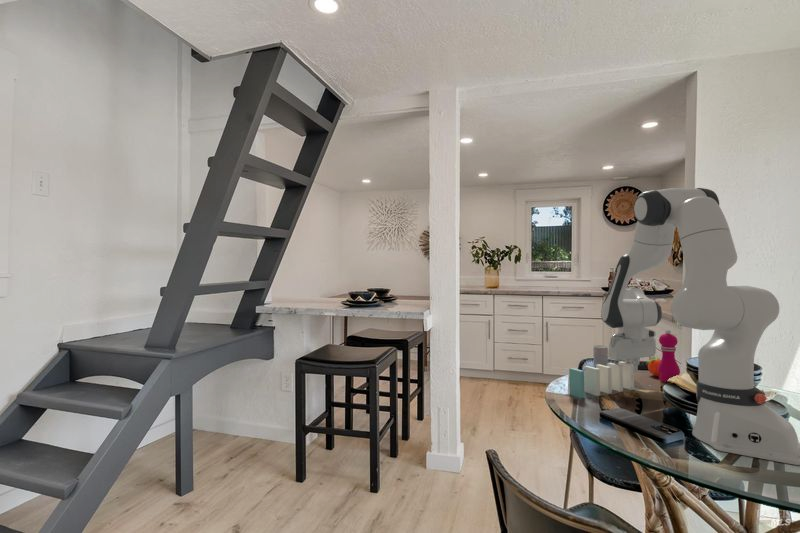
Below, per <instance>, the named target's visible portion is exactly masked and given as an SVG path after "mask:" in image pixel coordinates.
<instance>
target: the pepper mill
mask: <svg viewBox="0 0 800 533" xmlns="http://www.w3.org/2000/svg"><path fill="white" fill-rule="evenodd" d="M658 342H659V344H660V350H661V354H662V355H661V359H660V360H661V362H660V363H659V365H658V372H659V373H660V374H661V376H658V379H659V381H660V382H664V383H667V382H666V381H667V380H668V379H669V378H670V377H673V376H676V375H678V376H680V375H681V374H680V373H681V369H680V366H679V365H678V363H677V361H676V355H675V352H676V351H677V347H676V346H677V345H678V338H677V337H676V335H674V334H672V332H671V330H669V329H666V330H665V333H664V334H660V336H659V338H658Z"/></svg>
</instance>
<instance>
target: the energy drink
mask: <svg viewBox="0 0 800 533" xmlns="http://www.w3.org/2000/svg"><path fill="white" fill-rule="evenodd" d="M607 363H609V347H608V346H606V345H593V367H594V368H596V365H598V364H600V365H604V366H607Z"/></svg>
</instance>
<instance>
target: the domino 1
mask: <svg viewBox="0 0 800 533" xmlns="http://www.w3.org/2000/svg"><path fill="white" fill-rule="evenodd" d="M568 372H569V373H568V375H569V377H568V378H569V394H570V395H573V396H575V397H578V398H585V370H582V369H578V368H575V367H571V368H569V371H568Z"/></svg>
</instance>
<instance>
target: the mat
mask: <svg viewBox="0 0 800 533" xmlns="http://www.w3.org/2000/svg"><path fill="white" fill-rule="evenodd" d="M636 390H637V391H638V388H637V387H634V389H633V390H630V389H626V388H623V391H622V392H619V391H616V390H612V393H610V394H608V393H604V392H601V391H600V395H599V396H596V395H593V394H590V393H587V392H585V398H578V397H575V396H573V395H570V393H568V394H567V393H566V394H565V396H566V397H569V398H571V399H575V400H577V401H580V400H585V399H590V398H596V397H602V396H608V395H613V394H620V393H626V392H630V391H636Z"/></svg>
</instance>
